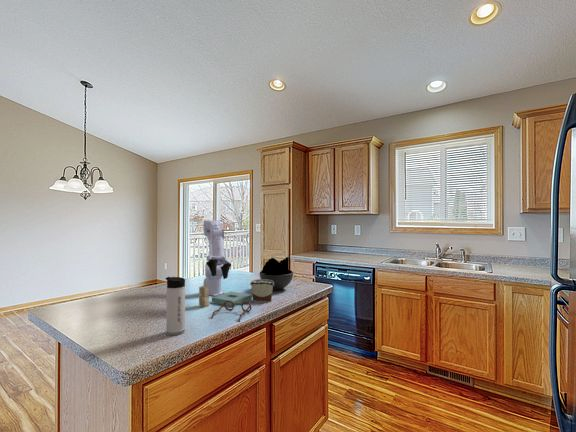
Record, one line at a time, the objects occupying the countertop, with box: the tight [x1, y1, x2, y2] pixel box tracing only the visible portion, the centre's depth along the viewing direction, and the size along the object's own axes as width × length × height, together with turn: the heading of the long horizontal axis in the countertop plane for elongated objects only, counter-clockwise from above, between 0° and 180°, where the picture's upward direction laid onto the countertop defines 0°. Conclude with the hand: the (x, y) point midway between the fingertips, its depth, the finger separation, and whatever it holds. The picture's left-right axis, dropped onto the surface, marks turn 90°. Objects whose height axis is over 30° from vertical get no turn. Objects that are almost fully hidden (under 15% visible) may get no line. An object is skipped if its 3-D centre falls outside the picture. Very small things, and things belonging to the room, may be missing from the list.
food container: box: [249, 278, 274, 303], centre depth 147 cm, size 12×6×10 cm, turn 84°
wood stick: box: [198, 285, 210, 308], centre depth 136 cm, size 4×2×9 cm, turn 60°
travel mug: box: [165, 276, 186, 337], centre depth 104 cm, size 6×7×20 cm
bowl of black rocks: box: [259, 256, 294, 291], centre depth 169 cm, size 20×20×19 cm
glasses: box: [210, 300, 252, 323], centre depth 123 cm, size 13×13×5 cm
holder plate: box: [211, 291, 253, 308], centre depth 144 cm, size 14×14×2 cm
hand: (219, 277), depth 137 cm, fingers open, 7 cm apart
